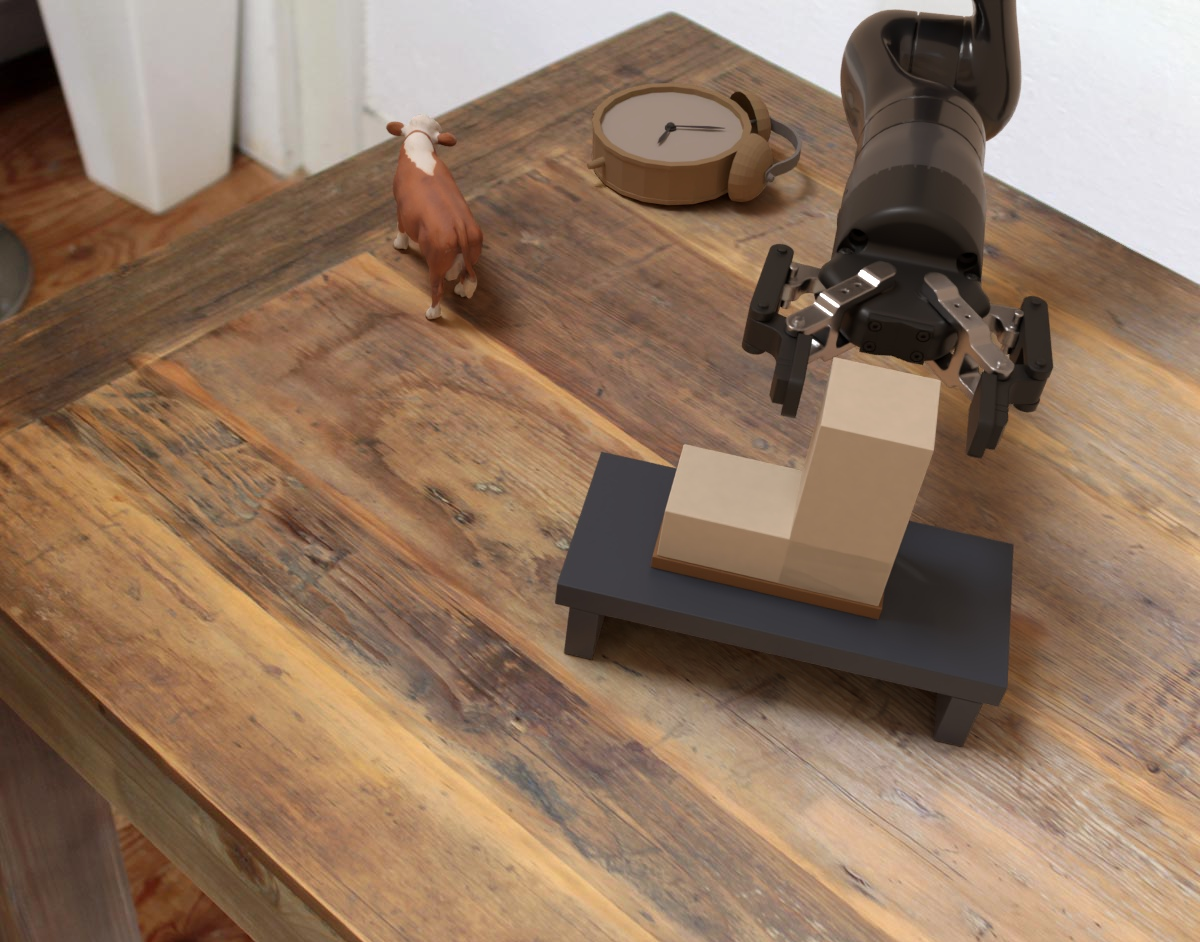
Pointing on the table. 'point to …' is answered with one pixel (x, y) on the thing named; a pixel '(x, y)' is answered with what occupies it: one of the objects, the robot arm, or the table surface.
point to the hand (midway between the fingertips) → (885, 423)
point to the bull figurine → (434, 209)
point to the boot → (811, 498)
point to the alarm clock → (686, 144)
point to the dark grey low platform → (796, 629)
